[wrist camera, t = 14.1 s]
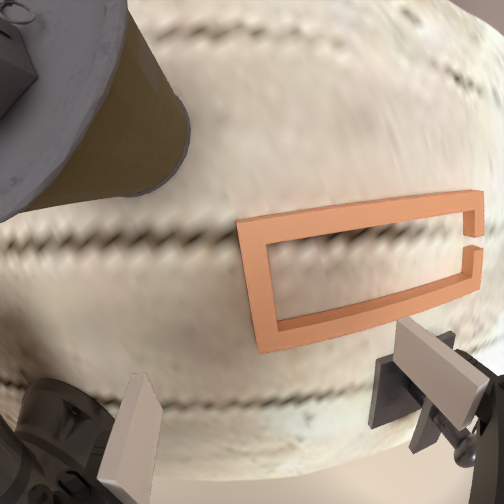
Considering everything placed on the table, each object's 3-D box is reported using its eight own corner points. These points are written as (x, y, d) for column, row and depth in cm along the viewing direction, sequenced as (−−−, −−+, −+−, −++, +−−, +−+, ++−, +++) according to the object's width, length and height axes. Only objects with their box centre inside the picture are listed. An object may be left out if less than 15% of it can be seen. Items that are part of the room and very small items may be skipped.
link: (256, 343, 27) (258, 354, 25) (235, 220, 24) (236, 223, 22) (469, 284, 29) (479, 289, 27) (472, 189, 26) (483, 191, 24)
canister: (214, 149, 23) (177, 8, 3) (117, 220, 23) (-73, 310, 4) (150, 59, 20) (54, -97, 1) (63, 130, 21) (-111, 93, 1)
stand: (367, 430, 32) (414, 516, 16) (377, 349, 29) (462, 449, 13) (432, 401, 33) (489, 468, 17) (452, 320, 29) (539, 385, 13)
